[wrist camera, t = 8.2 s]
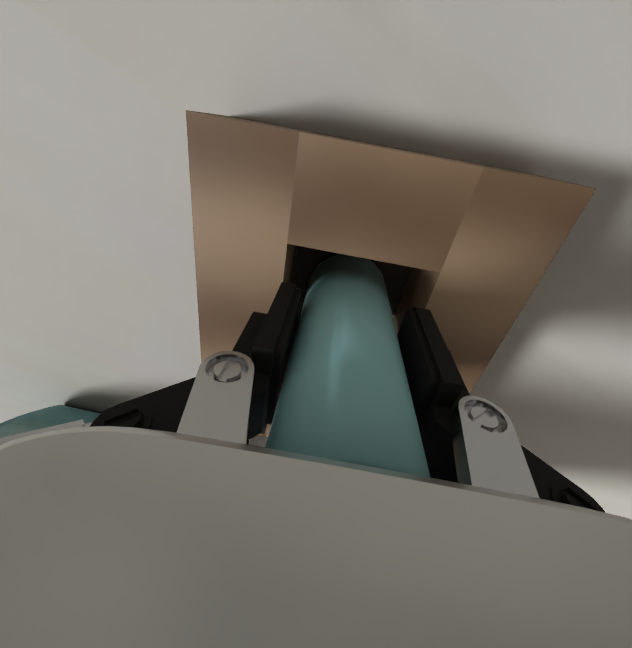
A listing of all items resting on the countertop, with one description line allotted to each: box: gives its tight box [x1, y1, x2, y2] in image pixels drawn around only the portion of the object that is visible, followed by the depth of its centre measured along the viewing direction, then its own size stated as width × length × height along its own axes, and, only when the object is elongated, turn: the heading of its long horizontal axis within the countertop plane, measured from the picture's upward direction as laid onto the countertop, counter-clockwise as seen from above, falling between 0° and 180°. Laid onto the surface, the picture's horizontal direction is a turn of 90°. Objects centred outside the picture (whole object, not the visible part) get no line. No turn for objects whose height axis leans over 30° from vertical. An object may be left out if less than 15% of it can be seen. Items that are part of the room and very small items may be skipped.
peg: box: [265, 254, 430, 477], centre depth 10 cm, size 4×4×10 cm
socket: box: [186, 110, 596, 437], centre depth 14 cm, size 14×12×4 cm
